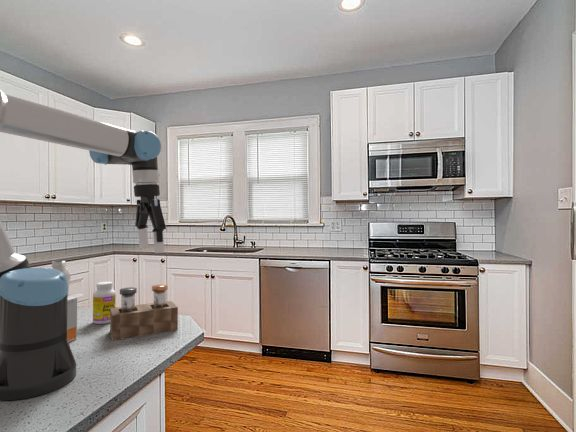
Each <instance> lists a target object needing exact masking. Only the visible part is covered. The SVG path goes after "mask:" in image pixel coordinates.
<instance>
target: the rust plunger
mask: <svg viewBox="0 0 576 432" xmlns="http://www.w3.org/2000/svg"><path fill="white" fill-rule="evenodd" d="M168 286H169V285H167V284H154V285H152V286H151V292H153V303H154V306H153V309H155V308H163V307H166V301H167V299H166V298H167V290H169V289H168Z"/></svg>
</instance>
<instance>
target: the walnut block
mask: <svg viewBox="0 0 576 432" xmlns="http://www.w3.org/2000/svg"><path fill="white" fill-rule="evenodd" d="M153 306H154V302H152V303H143V304H136V305H135V311H131V312H124V313H121V311H122V306H117V307H115V308H110V323H109V332H111V333H110V337H111V340H112V341H117V340H118V339H119V340H122V339H123V340H125V339H129V338H135V337H136V338H137V337H143V336H149V335H155V334H160V333H168V332H174V331H177V330H178V329H179V328H178V327H179V324H178V322H179V321H178V319H179V317H178V316H179V314H178V313H179V309H178V306H177V305H176V304H175V303H174V301H172V300H168V301H167V300H166V307H163V308H155V309H153Z"/></svg>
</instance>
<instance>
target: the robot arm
mask: <svg viewBox="0 0 576 432" xmlns="http://www.w3.org/2000/svg"><path fill="white" fill-rule="evenodd" d="M0 133H3V134H8V135H13V136H19V137H22V138H29V139H32V140H36V141H37V140H38V141H43V142H48V143H52V144H57V145H61V146H67V147H71V148H76V149H81V150H87V151H88V152H89V157H90V159H91V160H92V161H93V162H94V163H95V164H99V165H100V164H101V165H104V166H105V165H106V166H107V165H128V166H131V168H132V169H131V170H132V183H133V184H134V186H133V192H134V197H135V198H140V199H136V210H135V211H136V212H135V213H136V214H135V222H134V225H135V227H136V228H137V231H138V245H139V246H138V247H139V249H141V250H142V249H148V248H150V247H149V235H148V228H149V226H148V225H147V224H148V221H149V220H150V222H151V225H152V228H153V229H152V231H151V232H152V236H153V237H152V238H153V247H154V249H153V250H154V254H160V253H164V252H165V244H164V243H165V242H164V230H166V229H167V225H166V223H165V219H164V216H163V215H164V214H163V211H162V207H161V201H160V199H159V198H155V197H159V196H160V193H161V192H160V191H161V190H160V185H159V184H158V183H159V182H160V181H159V179H160V178H159V177H160V173H159V170H158V169H159V168H158V167H159V166H158V165H159V164H158V156H159V155H160V153H161V150H162V143H161V140H160V138H159V136H158V135H157V134H156V133H155V132H152V131H150V130H139V131H136V130H132V129H129V128H124V127H120V126H118V125H113V124H111V123H107V122H103V121H100V120H97V119H93V118H89V117H87V116H84V115H83V116H82V115H79V114H76V113H72V112H69V111H65V110H62V109H59V108H58V109H57V108H55V107H51V106H47V105H45V104H41V103H37V102H33V101H30V100H27V99H23V98H20V97H17V96H13V95H9V94H6V93H5V92H3V91H2V90H1V88H0ZM148 219H149V220H148ZM3 225H4V224H3V223H2V221H1V220H0V401H16V400H24V399H29V398H34V397H38V396H40V395H45V394H47V393H50V392H53V391H55V390H57V389H60V388H62V387H64V386H65V385H67V384H68V383H70V382H71V381H73V380H74V379H75V377H76V376H77V362H76V359H75V356H74V353H73V352H72V349H71V346H70V344H69V342H68V341H67V301H68V297H69V292H68V285H67V278H66V275H65V274H64V273H63V272H61V271H59V270H55V269H53V268H45V267H31V265H30V263H29V259H28V258H27V256H26V255H23V254H21V253H18V252H16V251H15V250H14V247H13V245H12V243H11V240H10V239H9V236H8V234H7V232H6V229H5V227H4V226H3Z"/></svg>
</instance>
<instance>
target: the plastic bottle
mask: <svg viewBox="0 0 576 432" xmlns="http://www.w3.org/2000/svg"><path fill="white" fill-rule="evenodd" d="M66 267H67V265H66V260H63V259H62V260H52V261H51V268H52V269H55V270H59V271H61V272H63V273H64V274H65V275H66V278H67V285H68V293H69V289H70V285H71V284H70V283H71V274H70V272H69V271H68V270H67V269H66Z"/></svg>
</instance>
